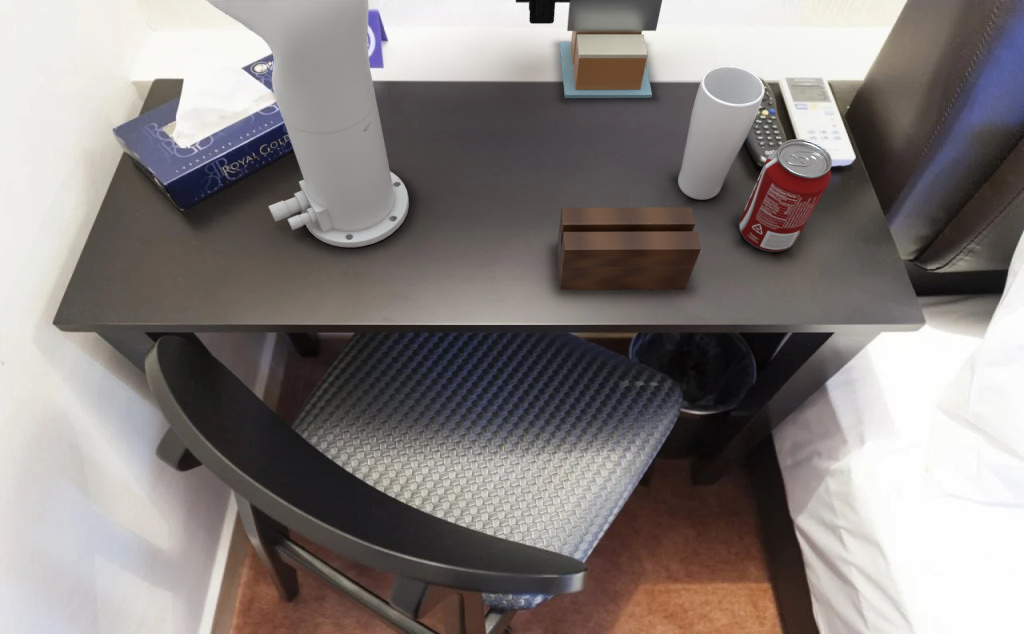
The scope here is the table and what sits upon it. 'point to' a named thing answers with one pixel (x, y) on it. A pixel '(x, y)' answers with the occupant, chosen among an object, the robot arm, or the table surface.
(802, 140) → the soda can
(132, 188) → the table surface
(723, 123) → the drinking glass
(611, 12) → the knife
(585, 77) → the boxes on blue tray
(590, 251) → the block
